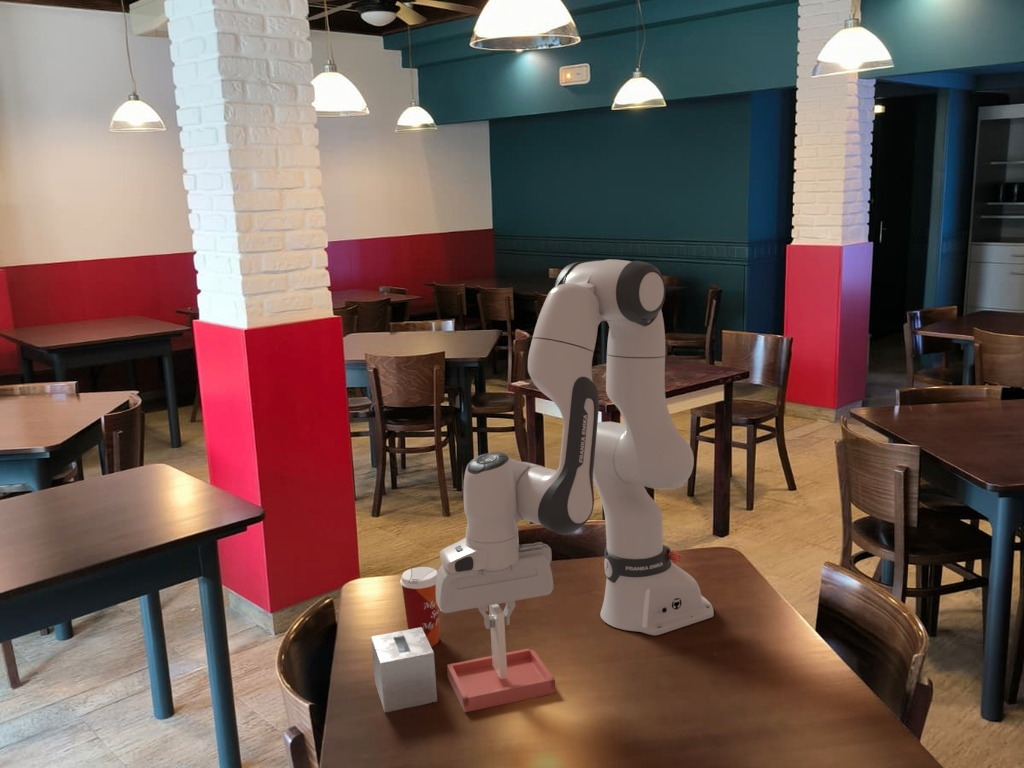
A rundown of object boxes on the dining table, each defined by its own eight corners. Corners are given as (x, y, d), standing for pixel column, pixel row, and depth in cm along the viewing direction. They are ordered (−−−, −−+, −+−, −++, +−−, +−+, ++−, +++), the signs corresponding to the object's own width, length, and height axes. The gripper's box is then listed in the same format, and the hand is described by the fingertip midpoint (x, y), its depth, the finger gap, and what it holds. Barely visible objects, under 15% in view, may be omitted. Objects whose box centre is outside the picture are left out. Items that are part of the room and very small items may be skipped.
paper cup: (438, 652, 168) (433, 582, 165) (399, 650, 169) (393, 581, 166) (449, 632, 175) (444, 566, 172) (412, 630, 177) (407, 564, 174)
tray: (532, 660, 163) (532, 647, 162) (555, 692, 152) (554, 679, 151) (447, 677, 158) (446, 664, 158) (464, 712, 147) (463, 698, 147)
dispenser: (425, 673, 160) (421, 627, 158) (437, 701, 151) (433, 652, 149) (375, 683, 158) (371, 636, 156) (384, 712, 148) (380, 663, 146)
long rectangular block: (499, 664, 157) (495, 600, 155) (507, 677, 152) (503, 612, 150) (492, 665, 157) (488, 602, 154) (500, 679, 152) (497, 613, 150)
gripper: (544, 534, 156) (547, 607, 159) (430, 552, 150) (435, 628, 153) (557, 546, 150) (560, 622, 153) (438, 566, 144) (444, 644, 147)
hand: (497, 625), depth 153 cm, fingers closed on long rectangular block, 1 cm apart
